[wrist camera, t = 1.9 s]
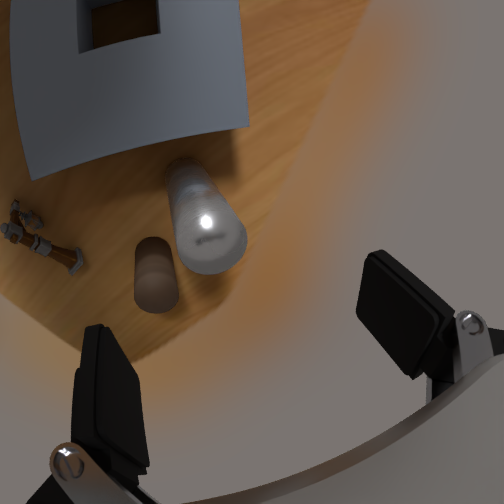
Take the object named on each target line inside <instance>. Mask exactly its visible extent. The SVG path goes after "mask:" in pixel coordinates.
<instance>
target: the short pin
mask: <svg viewBox="0 0 504 504" xmlns="http://www.w3.org/2000/svg"><path fill="white" fill-rule="evenodd" d="M178 298H179V293H178V288H177V282H176V277H175V271H174V265H173V260H172V254H171V248H170V246H169V244H168V243H167V242H166V241H165V240H164V239H162V238H159V237H148V238H145V239H143V240H142V241H141V242H140V243H139V244H138V245H137V247H136V251H135V276H134V299H135V302H136V304H137V305H138V306H139V307H140V308H141V309H142V310H144V311H146V312H149V313H156V314H157V313H163V312H166V311H168V310H170V309H172V308H173V307H174V306H175V305H176V303H177V301H178Z"/></svg>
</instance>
